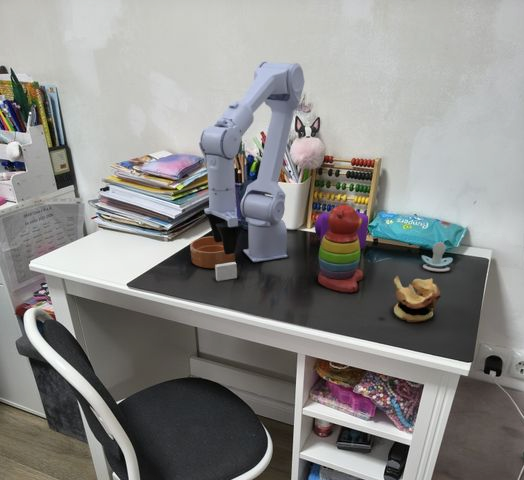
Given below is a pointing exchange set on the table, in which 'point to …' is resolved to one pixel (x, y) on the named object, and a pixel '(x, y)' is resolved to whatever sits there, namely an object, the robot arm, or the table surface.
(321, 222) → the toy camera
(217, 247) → the bowl
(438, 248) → the pacifier
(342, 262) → the stacking bear
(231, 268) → the eraser
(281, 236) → the robot arm
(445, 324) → the table surface
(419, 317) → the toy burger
